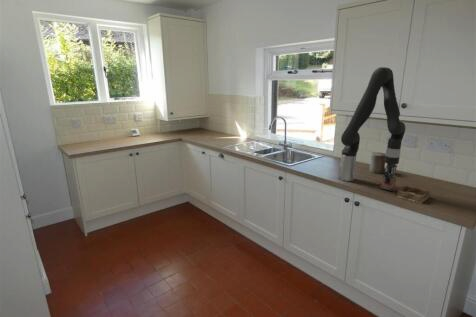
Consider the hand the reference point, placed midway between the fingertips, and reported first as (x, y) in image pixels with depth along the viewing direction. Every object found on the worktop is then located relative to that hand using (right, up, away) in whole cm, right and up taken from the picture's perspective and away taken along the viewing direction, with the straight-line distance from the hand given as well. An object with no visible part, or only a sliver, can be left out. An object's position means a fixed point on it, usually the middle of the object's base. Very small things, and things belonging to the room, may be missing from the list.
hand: (388, 182), depth 175 cm
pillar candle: (+10, +5, +36) cm, 37 cm away
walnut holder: (+10, -8, -9) cm, 15 cm away
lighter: (0, -4, +1) cm, 4 cm away
